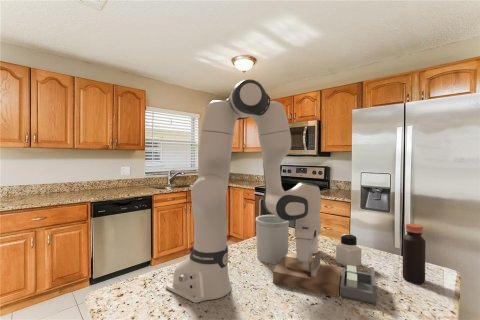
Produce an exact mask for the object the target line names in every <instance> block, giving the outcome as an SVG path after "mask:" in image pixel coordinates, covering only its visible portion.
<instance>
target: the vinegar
mask: <svg viewBox="0 0 480 320" xmlns="http://www.w3.org/2000/svg"><path fill="white" fill-rule="evenodd" d="M405 232H406V234H405V235H404V236H402V278H403V279H404V280H405V281H406V282H409V283H412V284H416V285H423V284H426V250H427V249H426V245H427V243H426V242H427V241H426V240H425V239H424V238H423V236H422V235H423V226H422V225H421V224H418V223H417V224H416V223H407V224H405Z"/></svg>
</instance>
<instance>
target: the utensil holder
mask: <svg viewBox="0 0 480 320" xmlns="http://www.w3.org/2000/svg"><path fill="white" fill-rule="evenodd" d="M255 225H256V227H255V231H256V232H255V233H256V235H255V236H256V256H257V257H256V258H257V259H258V260H259V261H260V262H263V263H265V264H273V265H278V264H279V262H280V261H281V260H282V258H283V257H285V256H286V255H287V253H288V254H289V225H290V221H286V220H282V219H280V218H279V217H277V216H275V215H273V214H265V215H264V214H262V215H258V216H256V217H255Z"/></svg>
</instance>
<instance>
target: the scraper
mask: <svg viewBox="0 0 480 320" xmlns="http://www.w3.org/2000/svg"><path fill="white" fill-rule="evenodd" d="M320 264H321V254H320V253H315V256H314V257H313V256H312V257H310V259H309V269H304V268H303V262H300V261H298V259H297V254H294V253H289V252H288V253H287V255H286V256H285V267H289V268H294V269H299V270H304V271H309V272H311V278H314V279H316V276H317V273H318V270H319V267H320Z"/></svg>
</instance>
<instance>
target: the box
mask: <svg viewBox="0 0 480 320" xmlns="http://www.w3.org/2000/svg"><path fill="white" fill-rule="evenodd" d="M369 269H370V273H367V272H362V271H357V270H356V274H357V289H356V288H351V287H347V268H346V269H344V268H341V284H340V293H339V298H340V299H344V300H350V301H354V302H359V303H362V304H366V305H371V306H377V294H378V293H377V280H376V275H375V267H373V266H371V267H370V268H369Z"/></svg>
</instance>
